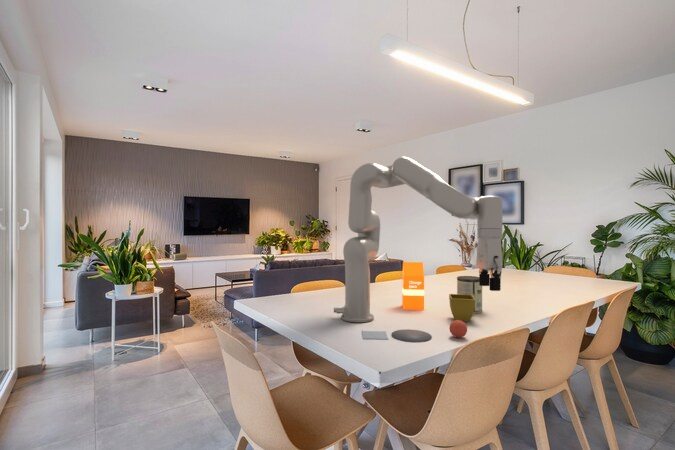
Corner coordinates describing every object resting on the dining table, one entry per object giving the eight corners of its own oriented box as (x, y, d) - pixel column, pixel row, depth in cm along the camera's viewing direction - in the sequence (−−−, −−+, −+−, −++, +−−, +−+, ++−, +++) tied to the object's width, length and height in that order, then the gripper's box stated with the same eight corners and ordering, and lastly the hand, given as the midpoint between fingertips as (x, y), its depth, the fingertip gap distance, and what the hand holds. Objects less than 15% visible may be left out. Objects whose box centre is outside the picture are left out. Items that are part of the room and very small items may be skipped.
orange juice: (402, 305, 166) (402, 260, 166) (421, 305, 165) (422, 261, 165) (403, 309, 158) (403, 262, 158) (424, 309, 157) (424, 263, 157)
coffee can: (460, 306, 163) (460, 275, 163) (484, 309, 158) (484, 277, 158) (453, 311, 154) (454, 278, 154) (479, 314, 149) (479, 280, 149)
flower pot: (475, 323, 136) (475, 299, 136) (450, 322, 138) (451, 298, 138) (471, 317, 145) (471, 294, 145) (448, 316, 146) (448, 293, 146)
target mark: (394, 341, 114) (394, 341, 114) (389, 329, 127) (389, 329, 127) (436, 342, 114) (436, 341, 114) (426, 330, 127) (426, 329, 127)
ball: (452, 339, 117) (452, 322, 117) (447, 334, 122) (447, 318, 122) (469, 340, 117) (469, 322, 117) (463, 334, 122) (464, 318, 122)
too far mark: (363, 339, 117) (363, 338, 117) (362, 331, 125) (362, 331, 125) (388, 339, 117) (388, 338, 117) (385, 331, 125) (385, 331, 125)
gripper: (469, 233, 128) (468, 283, 128) (488, 235, 110) (488, 293, 110) (490, 233, 128) (490, 283, 128) (513, 235, 110) (513, 293, 110)
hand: (489, 287), depth 119 cm, fingers open, 8 cm apart
